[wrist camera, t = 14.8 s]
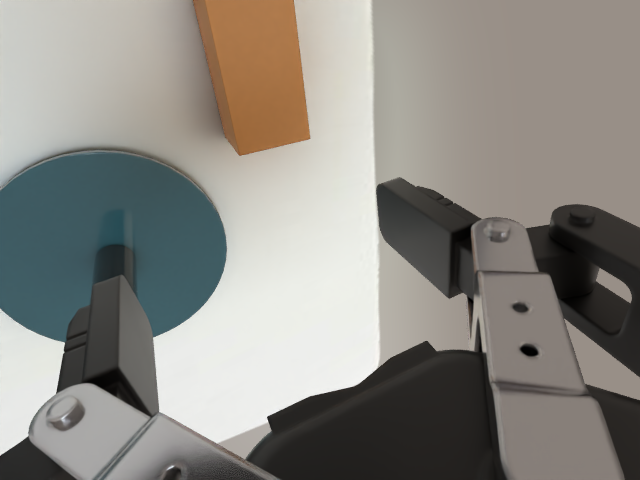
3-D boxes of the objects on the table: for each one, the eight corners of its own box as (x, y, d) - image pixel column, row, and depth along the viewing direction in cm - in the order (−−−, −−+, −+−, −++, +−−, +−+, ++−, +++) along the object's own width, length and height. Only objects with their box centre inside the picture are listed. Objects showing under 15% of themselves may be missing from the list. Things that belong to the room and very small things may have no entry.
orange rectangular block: (191, -7, 22) (202, -9, 18) (268, -16, 23) (291, -19, 20) (225, 138, 26) (239, 156, 23) (288, 123, 27) (310, 139, 24)
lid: (-81, 270, 23) (-144, 350, 17) (92, 93, 22) (82, 121, 17) (132, 363, 31) (134, 435, 26) (262, 238, 31) (291, 286, 25)
